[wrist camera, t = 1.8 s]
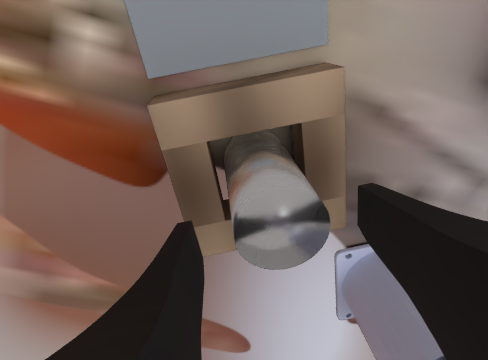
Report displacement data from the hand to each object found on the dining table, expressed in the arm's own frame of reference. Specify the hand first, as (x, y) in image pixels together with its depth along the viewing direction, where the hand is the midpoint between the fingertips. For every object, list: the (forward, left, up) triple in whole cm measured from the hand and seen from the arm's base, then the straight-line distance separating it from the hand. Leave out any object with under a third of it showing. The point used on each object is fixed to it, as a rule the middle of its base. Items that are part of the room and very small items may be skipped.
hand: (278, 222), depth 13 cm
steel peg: (0, 0, -7) cm, 7 cm away
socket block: (0, 0, -7) cm, 7 cm away
